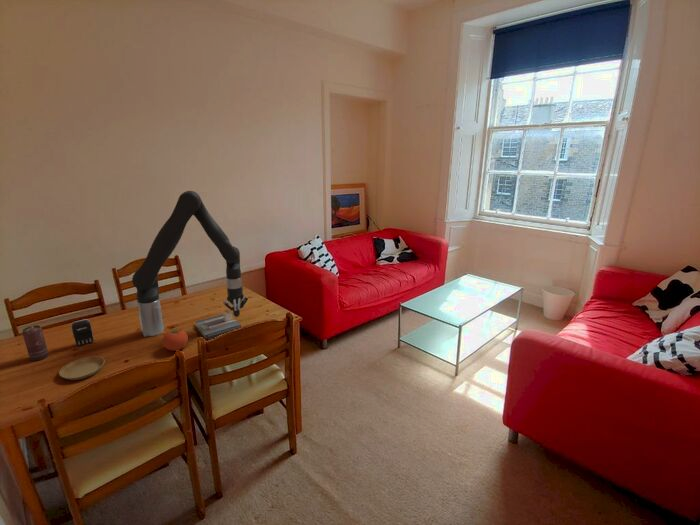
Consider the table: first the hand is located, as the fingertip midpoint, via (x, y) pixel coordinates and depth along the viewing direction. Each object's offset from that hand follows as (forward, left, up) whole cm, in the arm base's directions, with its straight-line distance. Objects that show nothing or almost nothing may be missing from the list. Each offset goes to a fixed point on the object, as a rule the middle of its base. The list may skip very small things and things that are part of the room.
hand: (236, 316), depth 184 cm
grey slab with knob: (-10, 0, -3) cm, 11 cm away
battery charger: (-64, +20, -4) cm, 67 cm away
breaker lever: (-5, 0, -1) cm, 5 cm away
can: (-80, +18, -4) cm, 82 cm away
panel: (-10, 0, -3) cm, 11 cm away
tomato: (-32, -9, -4) cm, 33 cm away
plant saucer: (-66, -5, -4) cm, 66 cm away
